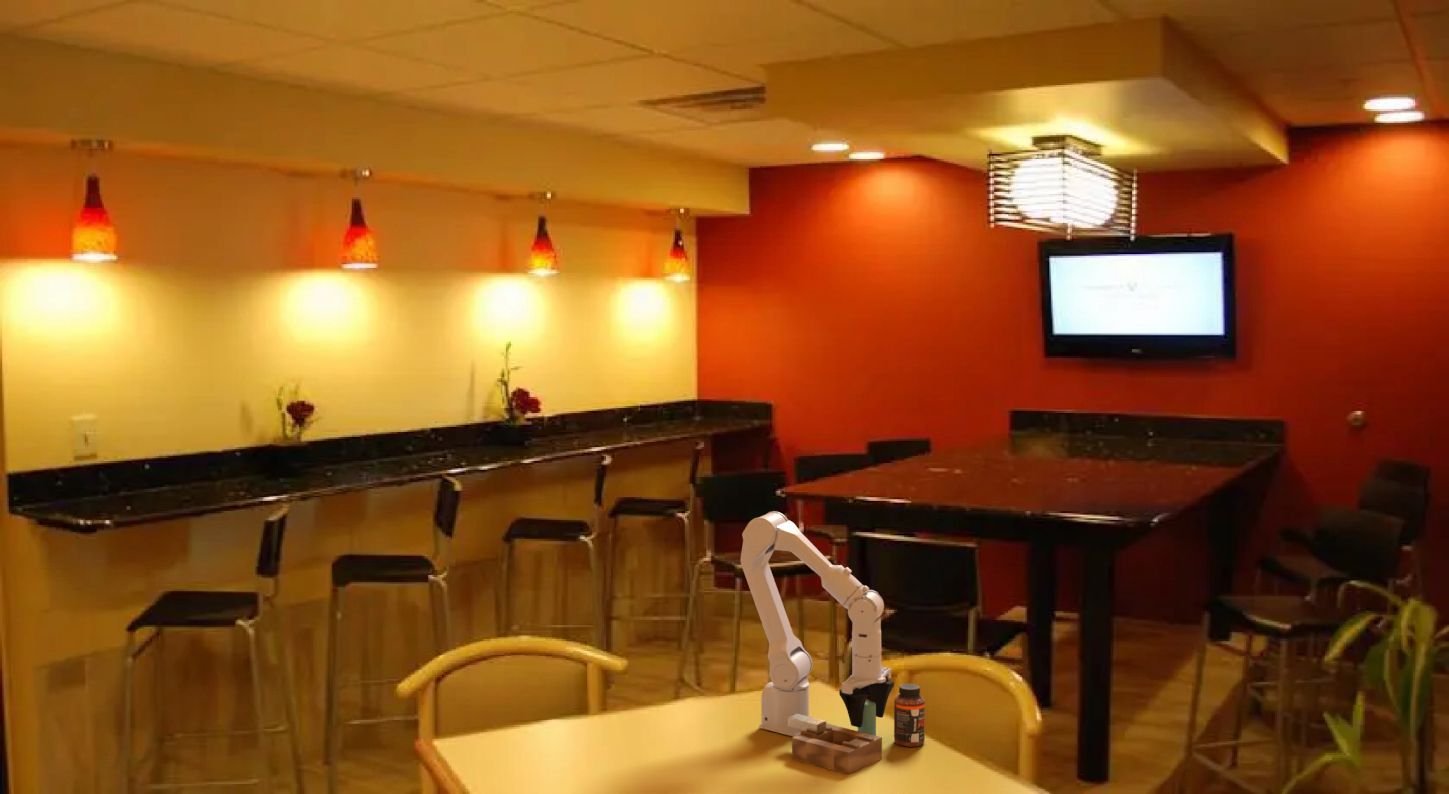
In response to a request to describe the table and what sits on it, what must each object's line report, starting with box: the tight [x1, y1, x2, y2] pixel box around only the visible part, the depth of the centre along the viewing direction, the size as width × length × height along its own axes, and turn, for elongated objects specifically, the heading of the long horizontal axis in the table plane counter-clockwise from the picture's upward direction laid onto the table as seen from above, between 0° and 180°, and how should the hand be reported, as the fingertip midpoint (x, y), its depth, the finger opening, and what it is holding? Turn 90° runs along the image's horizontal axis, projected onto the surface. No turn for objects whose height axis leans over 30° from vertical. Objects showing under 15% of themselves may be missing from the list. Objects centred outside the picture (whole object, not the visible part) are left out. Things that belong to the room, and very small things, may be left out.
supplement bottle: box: [893, 683, 926, 748], centre depth 245 cm, size 6×6×11 cm
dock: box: [791, 722, 883, 775], centre depth 237 cm, size 13×11×4 cm
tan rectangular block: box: [788, 714, 827, 734], centre depth 241 cm, size 7×3×2 cm, turn 49°
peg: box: [857, 700, 877, 736], centre depth 248 cm, size 4×4×7 cm
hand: (867, 721), depth 248 cm, fingers open, 7 cm apart
